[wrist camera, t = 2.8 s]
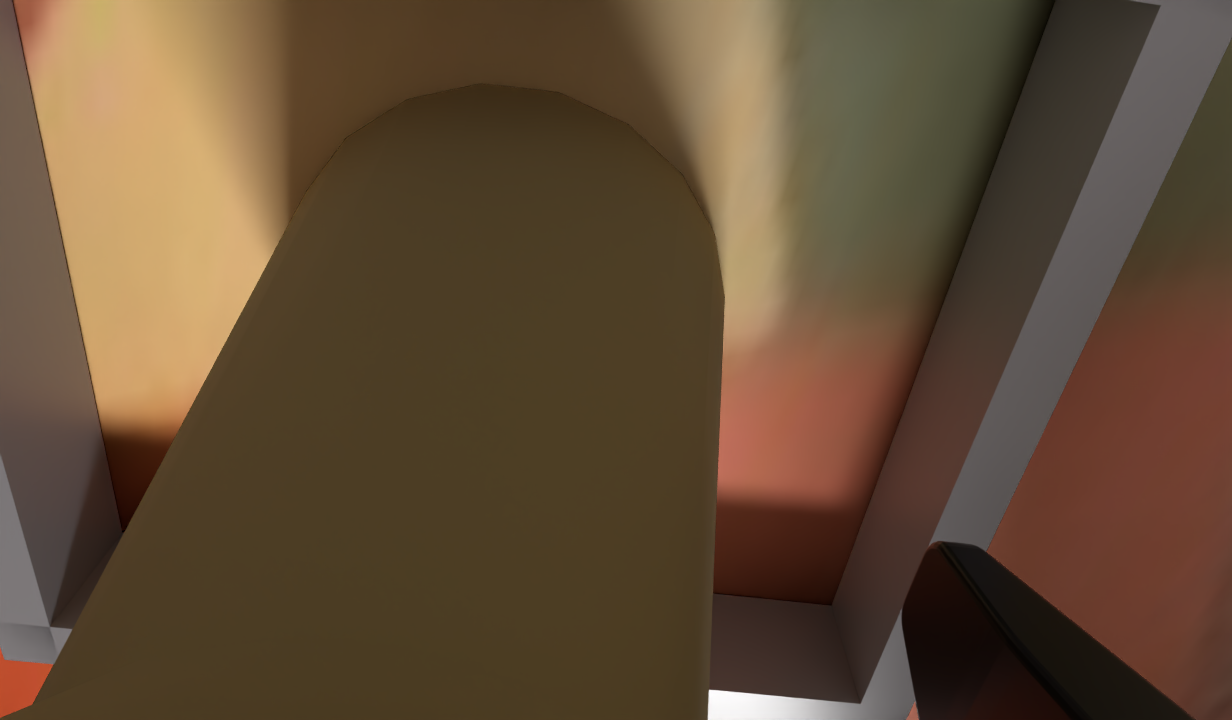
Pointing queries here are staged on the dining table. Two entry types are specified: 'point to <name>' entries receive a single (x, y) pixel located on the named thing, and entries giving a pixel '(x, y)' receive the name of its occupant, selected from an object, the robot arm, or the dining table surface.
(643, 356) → the olive game pawn
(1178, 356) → the dining table surface
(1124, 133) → the open gray frame
